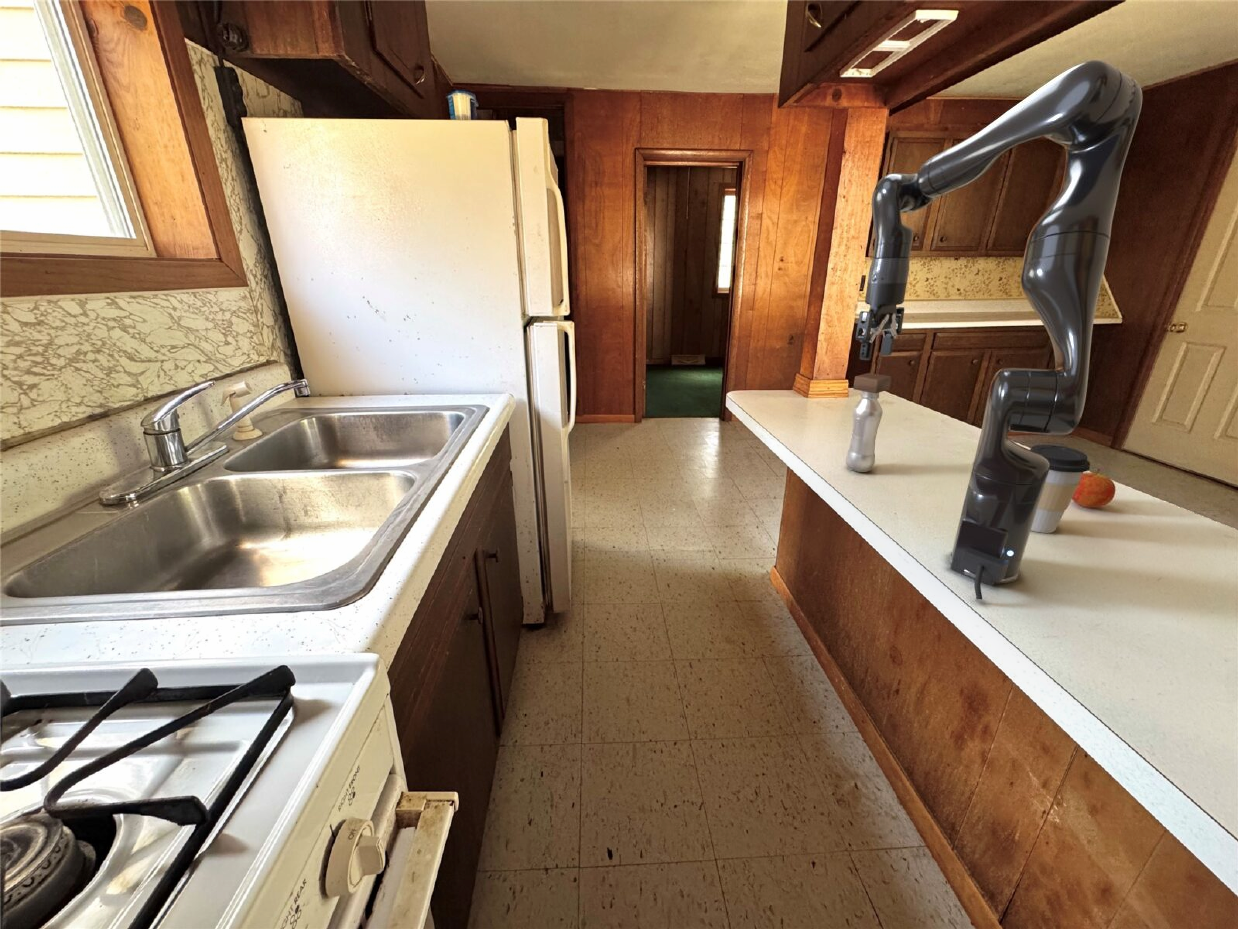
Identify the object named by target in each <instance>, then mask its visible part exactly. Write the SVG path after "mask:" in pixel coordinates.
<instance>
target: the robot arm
mask: <svg viewBox="0 0 1238 929" xmlns="http://www.w3.org/2000/svg"><path fill="white" fill-rule="evenodd" d="M1142 104H1143V91H1142V88H1141V85H1140V84H1139V82H1138V81H1137V80H1136V79H1135V78H1133V77H1131V76H1130V75H1128V74H1127V73H1125V72H1124V71H1122V70H1121V69H1119V68H1117V67H1115V66H1114V65H1112V64H1110V63H1109V62H1107V61H1103V60H1098V59H1092V60H1087V61H1083V62H1081V63H1079V64H1077V65H1074V66H1073V67H1070V68H1068V69H1067V70H1065V71H1064V72H1062V73H1061V74H1059V75H1057V76H1056V77H1055V78H1053V79H1051V80H1050V81H1049V82H1047V83H1046V84H1044V85H1043V86H1041V87H1039V89H1037V90H1035V91H1034V92H1033V93H1031V94H1030V95H1028V96H1027V97H1026V98H1024V99H1023V100H1021V101H1020V102H1018V103H1017V104H1016V105H1015V106H1013V107H1012V108H1010V109H1008V110H1007V111H1006V112H1005V113H1003V114H1002V115H1001V116H999V117H998V118H997V119H995V120H994V121H993V122H991V123H989V124H988V125H987V126H985V127H984V128H983V129H981V130H980V131H978V132H976V133H974V134H973V135H971V136H970V137H968V138H966V139H964V140H963V141H961V142H959V143H957V144H955V145H953V146H951V147H949V148H947V149H944V151H941V152H939V153H937V154H936V155H934V156H932V157H930V158H928V159H927V160H926V161H925V162H924V163H923V164H922V165H921V166H920V168H919V169H918V172H915V173H897V172H896V173H895V172H894V173H888V174H886V175H884V176H883V177H882V178H881V179H879V181H878V182H877V183H876V186H875V187H874V189H873V192H872V196H871V213H872V221H873V231H874V245H873V251H872V259H871V264H870V267H869V272H868V276H867V277H868V278H867V285H866V292H865V298H864V303H865V304H866V305H869V310H868V311H867V310H866V311H864V310H861V311H860V312H859V315H858V321H857V327H856V333H855V340H856V341H859V342H860V343H861V345H860V351H859V360H860V361H870V360H871V359H872V352H873V345H874V343H873V342H874V341H875V339H876V337H877V336H878V335H879V334H881V333H882V336H883V337H882V340H881V345H880V346H881V347H880V355H882V356H891V355H892V354H893V349H894V348H893V347H894V340H895V339H896V338H897V336H898V335H899V336H900V335H901V334H902V330H903V323H904V316H905V307H903V306H898V305H902V304H903V303H904V302H905V298H906V290H907V285H908V278H909V274H910V261H911V260H910V259H911V258H910V257H911V253H912V247H913V246H912V245H913V240H914V230H913V228H912V227H910V226H908V225H905V224H903V220H902V215H901V214H910V213H914V212H918V211H920V210H922V209H924V208H926V207H928V206H929V205H931V204H932V203H933V202H935V201H936V200H937V199H939V198H940V197H941V196H944V195H947V194H949V193H951V192H954V191H956V190H958V189H960V188H963V187H965V186H967V185H969V184H972V183H973V182H975V181H976V180H978V179H980V178H981V177H982V176H983V175H985V174H986V173H987V172H988V171H989V170H990V169H991V168H992V167H993V166H994V164H996V162H997V161H998V160H999V158H1000V157H1002V155H1003V154H1004V153H1006V152H1008V150H1010V149H1012V148H1013V147H1015V146H1018V145H1020V144H1022V143H1026V142H1028V141H1031V140H1034V139H1035V140H1036V139H1038V138H1041V137H1045V138H1046V139H1048V140H1050V141H1052V142H1054V143H1055V144H1058V145H1060V146H1062V147H1063V148H1064V150H1065V164H1064V166H1065V167H1064V172H1063V178H1062V183H1061V186H1060V188H1059V192H1058V193H1057V195H1056V196H1055V198H1054V200H1053V201H1052V202H1051V203H1050V205H1049V206H1048V207H1047V208H1046V209H1045V210H1044V212H1043V213H1042V214H1041V216H1040V217H1039V218H1038V220H1037V222H1036V223H1035V224H1034V225H1033V227H1032V229H1031V231H1030V233H1029V235H1028V238H1027V240H1026V245H1025V250H1024V255H1023V260H1022V266H1021V271H1020V277H1019V278H1020V279H1019V280H1020V281H1019V282H1020V286H1021V290H1022V293H1023V294H1024V296H1025V298H1026V300H1027V301H1028V304H1029V305H1030V306H1031V308H1032V309H1033V311H1034V312H1035V314H1036V316H1037V317H1038V318H1039V320H1040V321H1041V323H1042V325H1043V326H1044V328H1045V330H1046V332H1047V333H1048V337H1049V339H1050V342H1051V345H1052V349H1053V355H1054V369H1049V368H1033V367H1032V368H1029V367H1002V368H1001V369H999V370H998V371H997V372H996V373H995V374H994V376H993V378H992V379H991V381H990V385H989V388H988V392H987V397H986V401H985V407H984V414H983V419H982V426H981V429H980V431H981V432H980V434H979V438H978V439H979V440H978V444H977V448H976V452H975V457H974V461H973V464H972V469H971V474H970V477H969V481H968V484H967V489H966V492H965V496H964V501H963V505H962V509H961V512H960V517H959V521H958V525H957V529H956V532H955V536H954V542H953V546H952V550H951V552H950V555H949V559H948V560H949V563H950V567H949V569H950V570H951V571H955V572H957V573H959V574H961V575H964V576H966V577H969V578H972V579H974V593H975V599H976V600H981V601H982V600H983V595H982V594H983V593H982V585H981V584H982V583H984V584H986V585H988V586H993V585H995V584H1009V583H1013V582H1014V581H1016V580H1017V579H1018V576H1019V573H1020V567H1021V564H1022V561H1023V557H1024V555H1025V550H1026V548H1027V545H1028V541H1029V538H1030V534H1031V531H1032V530H1031V528H1032V525H1033V521H1034V518H1035V515H1036V512H1037V508H1038V505H1039V502H1040V498H1041V496H1042V492H1043V489H1044V486H1045V483H1046V479H1047V476H1048V473H1049V469H1050V464H1049V462H1048V460H1047V459H1046V458H1045V457H1043V456H1042V455H1040V454H1038V453H1036V452H1034V451H1031V450H1030V448H1027V447H1024V446H1022V445H1020V444H1018V443H1016V442H1015V441H1013V440H1012V439H1010V438H1009V437H1008V434H1009V432H1015V433H1016V432H1017V433H1027V434H1029V433H1030V434H1037V435H1038V434H1039V435H1047V436H1067V435H1069V434H1071V433H1073V432H1074V430H1075V429H1076V428H1077V426H1078V425H1079V423H1080V421H1081V418H1082V415H1083V412H1084V408H1085V404H1086V398H1087V391H1088V390H1087V389H1088V380H1089V371H1090V360H1091V359H1090V358H1091V347H1092V337H1093V329H1094V321H1095V315H1096V310H1097V306H1098V300H1099V296H1100V291H1101V287H1102V282H1103V278H1104V273H1105V269H1106V265H1107V258H1108V253H1109V249H1110V248H1109V247H1110V242H1111V234H1112V225H1113V220H1114V216H1115V215H1114V214H1115V210H1116V209H1115V208H1116V205H1117V201H1118V196H1119V190H1120V183H1121V178H1122V173H1123V169H1124V166H1125V162H1126V159H1127V156H1128V154H1129V149H1130V146H1131V143H1132V141H1133V137H1134V134H1135V131H1136V127H1137V124H1138V122H1139V117H1140V114H1141V111H1142V106H1143V105H1142ZM862 331H863V332H862Z"/></svg>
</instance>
